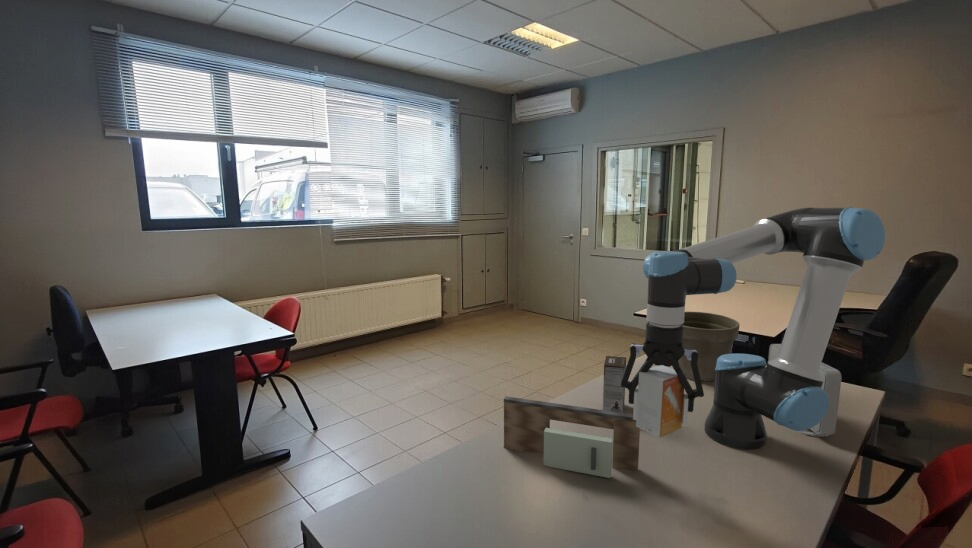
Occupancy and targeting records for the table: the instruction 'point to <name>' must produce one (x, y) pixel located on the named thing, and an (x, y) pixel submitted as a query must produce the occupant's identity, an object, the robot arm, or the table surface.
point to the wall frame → (534, 416)
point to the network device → (829, 386)
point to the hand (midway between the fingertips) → (659, 420)
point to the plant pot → (707, 341)
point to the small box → (659, 401)
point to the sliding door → (578, 452)
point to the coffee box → (614, 384)
